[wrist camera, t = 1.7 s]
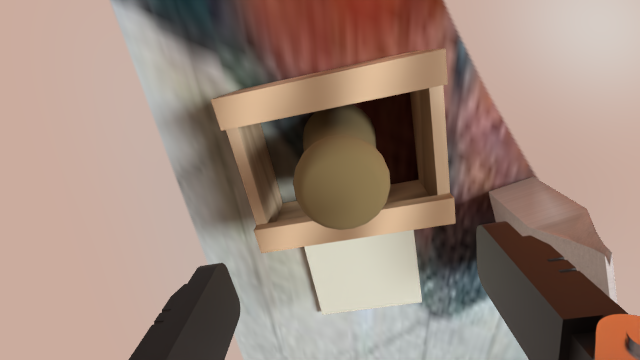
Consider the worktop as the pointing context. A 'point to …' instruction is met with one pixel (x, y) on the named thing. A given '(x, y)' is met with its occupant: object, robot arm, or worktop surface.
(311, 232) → the open rectangular wooden frame
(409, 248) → the cream mat
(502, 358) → the worktop surface
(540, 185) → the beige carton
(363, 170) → the cork
